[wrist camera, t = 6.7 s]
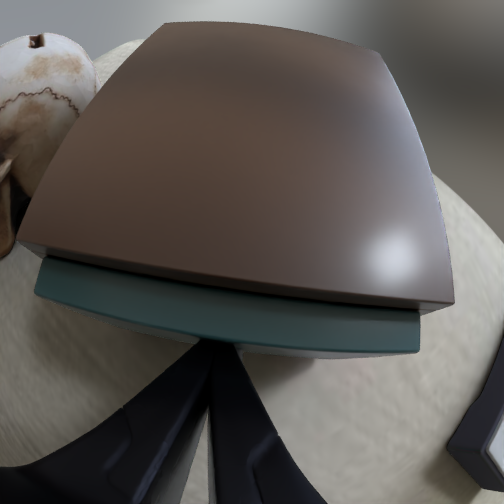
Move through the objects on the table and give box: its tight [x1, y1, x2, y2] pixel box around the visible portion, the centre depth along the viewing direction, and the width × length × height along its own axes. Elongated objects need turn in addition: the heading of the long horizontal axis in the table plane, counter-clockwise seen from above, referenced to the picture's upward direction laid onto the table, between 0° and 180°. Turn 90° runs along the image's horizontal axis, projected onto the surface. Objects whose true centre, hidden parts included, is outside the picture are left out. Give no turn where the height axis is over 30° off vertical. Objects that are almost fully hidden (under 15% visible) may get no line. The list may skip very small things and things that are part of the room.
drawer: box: [34, 256, 420, 361], centre depth 11 cm, size 14×11×7 cm
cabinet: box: [16, 21, 455, 316], centre depth 12 cm, size 14×12×9 cm
